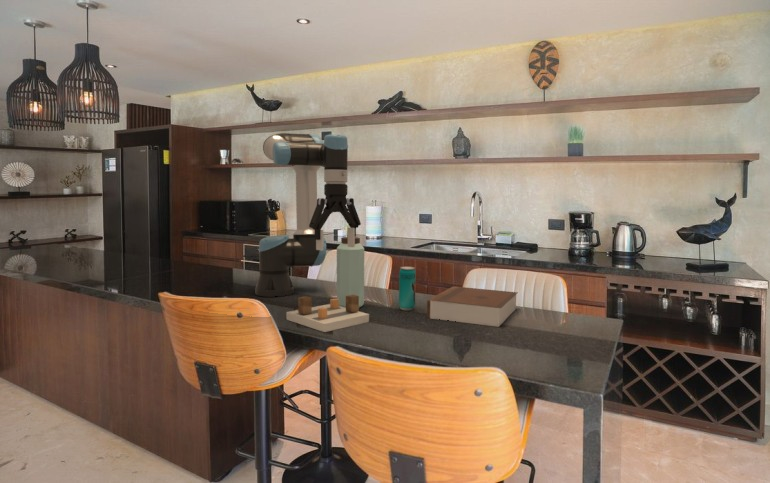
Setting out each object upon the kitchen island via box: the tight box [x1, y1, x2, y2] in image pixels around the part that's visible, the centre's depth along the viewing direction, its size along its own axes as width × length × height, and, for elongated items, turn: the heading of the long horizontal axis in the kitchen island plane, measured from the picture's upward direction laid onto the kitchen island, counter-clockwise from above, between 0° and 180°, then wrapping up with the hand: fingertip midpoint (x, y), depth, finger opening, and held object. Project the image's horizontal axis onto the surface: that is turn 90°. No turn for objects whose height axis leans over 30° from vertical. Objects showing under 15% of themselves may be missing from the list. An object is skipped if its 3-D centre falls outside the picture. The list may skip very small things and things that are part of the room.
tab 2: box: [346, 295, 360, 312], centre depth 167 cm, size 3×3×5 cm
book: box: [426, 285, 519, 328], centre depth 178 cm, size 24×28×6 cm
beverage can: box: [398, 266, 417, 312], centre depth 182 cm, size 6×6×15 cm
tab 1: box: [297, 295, 313, 314], centre depth 164 cm, size 3×3×5 cm
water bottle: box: [336, 236, 365, 308], centre depth 185 cm, size 10×10×25 cm
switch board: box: [286, 298, 370, 333], centre depth 165 cm, size 20×18×6 cm
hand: (335, 248), depth 168 cm, fingers open, 13 cm apart
